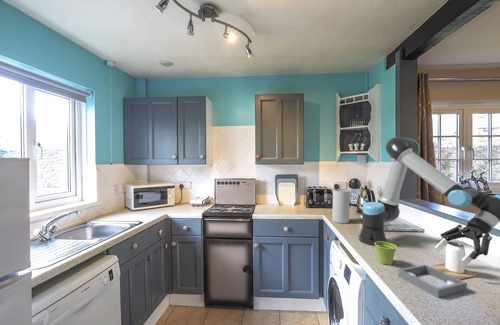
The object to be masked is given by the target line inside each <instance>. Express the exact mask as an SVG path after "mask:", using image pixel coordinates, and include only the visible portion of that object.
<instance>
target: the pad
mask: <svg viewBox="0 0 500 325" xmlns="http://www.w3.org/2000/svg"><path fill="white" fill-rule="evenodd" d="M430 267H432V268H434V269H436V270H438V271H441V272H443V273H445V274H448V275H450V276H452V277H454V278H457V279H459V280H461V281H464V280H466V279H471V278H474V277H476V278H477V277H479V276H480V275H479V274H478V273H475V272H472V271H470V270H467V269H465V268H464V273H461V274H460V273H454V272H451V271H449V270H447V269H446V268H445V263H439V264H435V265H434V264H433V265H430Z"/></svg>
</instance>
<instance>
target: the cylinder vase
mask: <svg viewBox="0 0 500 325" xmlns="http://www.w3.org/2000/svg"><path fill="white" fill-rule="evenodd" d="M350 195H351V191H350V190H348V189H343V188H337V189H336V188H335V189H332V211H331V212H332V215H331V216H332V217H331V220H332V222H334V223H335V224H348V223H350V204H351V202H350V200H351V196H350Z"/></svg>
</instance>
